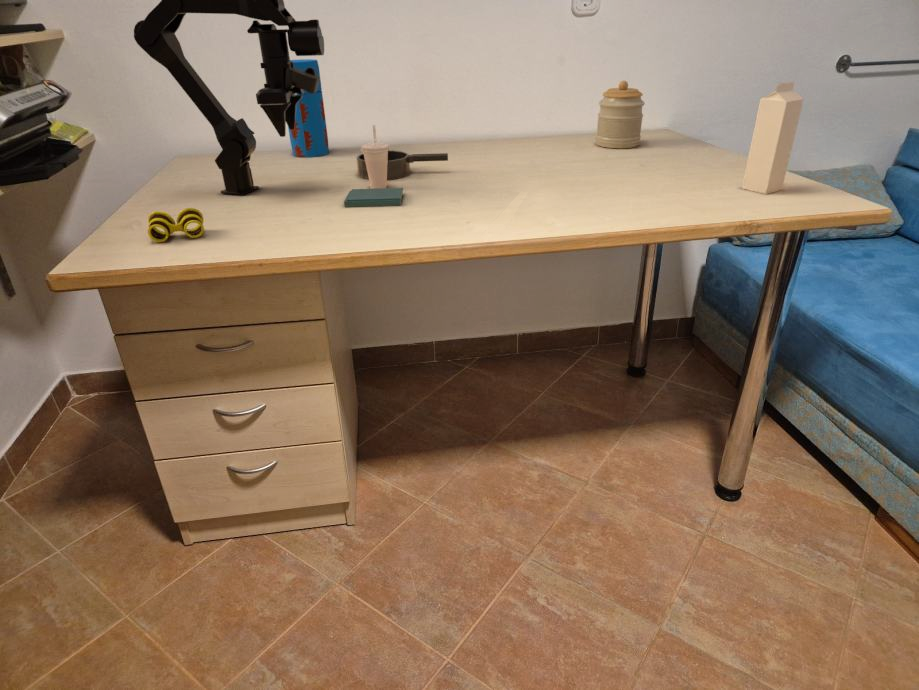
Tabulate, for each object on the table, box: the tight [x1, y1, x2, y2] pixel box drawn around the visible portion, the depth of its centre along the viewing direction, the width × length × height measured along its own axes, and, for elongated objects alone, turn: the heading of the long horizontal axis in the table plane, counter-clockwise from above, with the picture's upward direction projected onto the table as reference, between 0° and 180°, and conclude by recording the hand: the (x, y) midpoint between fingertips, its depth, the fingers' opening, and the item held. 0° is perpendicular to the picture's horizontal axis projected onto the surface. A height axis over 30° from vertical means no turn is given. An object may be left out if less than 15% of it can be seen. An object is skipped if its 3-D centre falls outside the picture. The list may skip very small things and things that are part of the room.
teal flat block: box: [343, 187, 404, 208], centre depth 133 cm, size 12×9×2 cm
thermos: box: [287, 58, 330, 158], centre depth 172 cm, size 11×11×25 cm
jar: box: [595, 80, 646, 149], centre depth 176 cm, size 13×13×18 cm
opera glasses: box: [147, 207, 205, 243], centre depth 113 cm, size 10×5×5 cm, turn 110°
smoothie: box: [361, 124, 390, 189], centre depth 139 cm, size 6×6×14 cm
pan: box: [356, 150, 411, 181], centre depth 153 cm, size 13×13×4 cm
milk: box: [741, 81, 804, 195], centre depth 129 cm, size 6×6×22 cm
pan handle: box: [409, 152, 449, 164], centre depth 153 cm, size 10×2×2 cm, turn 91°
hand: (287, 132), depth 136 cm, fingers open, 9 cm apart
